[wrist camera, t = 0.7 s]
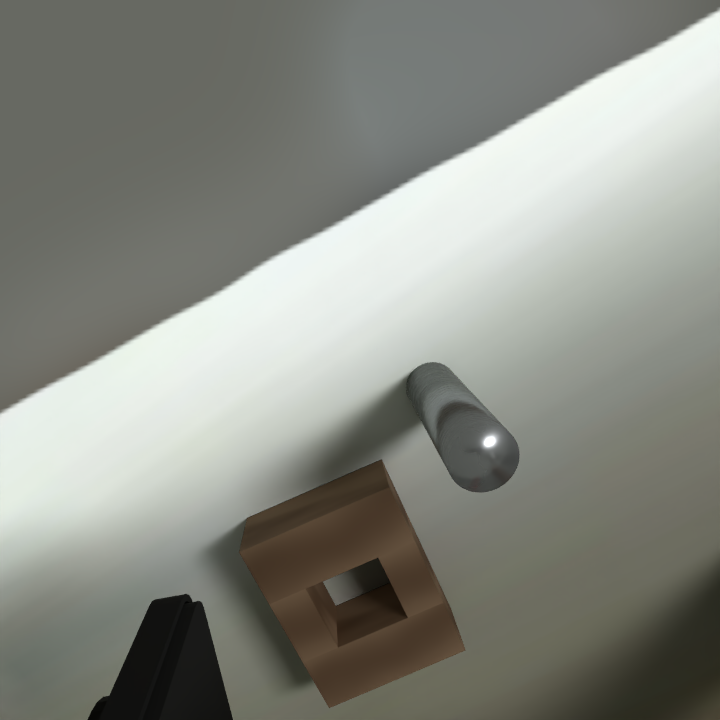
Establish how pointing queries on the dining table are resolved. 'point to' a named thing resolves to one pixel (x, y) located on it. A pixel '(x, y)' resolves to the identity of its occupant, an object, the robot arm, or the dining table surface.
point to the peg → (462, 429)
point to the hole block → (364, 613)
